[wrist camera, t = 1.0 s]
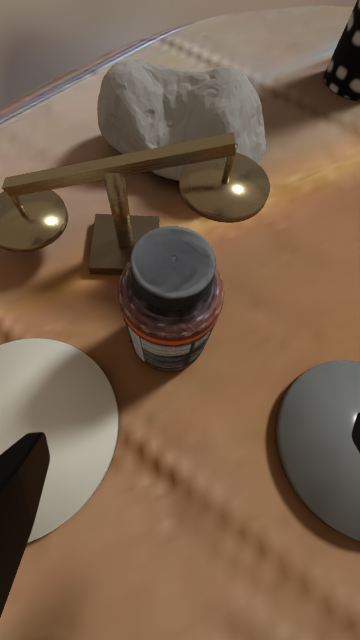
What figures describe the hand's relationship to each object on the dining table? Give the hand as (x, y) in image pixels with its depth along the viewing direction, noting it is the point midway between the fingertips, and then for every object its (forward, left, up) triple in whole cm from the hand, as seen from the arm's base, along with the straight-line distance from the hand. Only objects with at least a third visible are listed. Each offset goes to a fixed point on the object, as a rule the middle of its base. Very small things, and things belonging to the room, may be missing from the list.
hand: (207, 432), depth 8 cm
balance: (+17, +5, -13) cm, 22 cm away
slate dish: (0, -13, -13) cm, 19 cm away
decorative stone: (+29, 0, -14) cm, 32 cm away
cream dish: (+1, +11, -13) cm, 17 cm away
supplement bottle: (+8, +1, -14) cm, 16 cm away
